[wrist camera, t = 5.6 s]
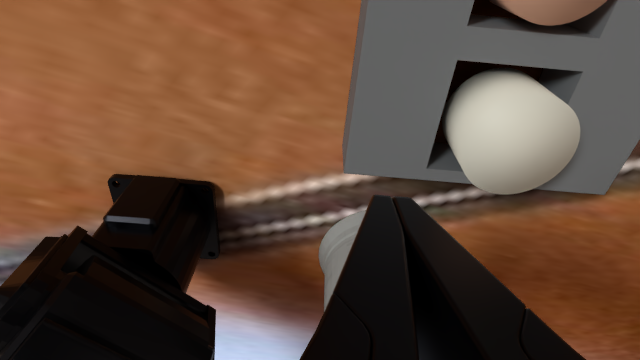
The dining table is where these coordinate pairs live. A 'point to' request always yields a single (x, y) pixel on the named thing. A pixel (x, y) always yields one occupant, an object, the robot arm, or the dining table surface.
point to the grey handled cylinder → (337, 250)
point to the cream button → (509, 131)
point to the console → (489, 47)
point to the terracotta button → (550, 9)
